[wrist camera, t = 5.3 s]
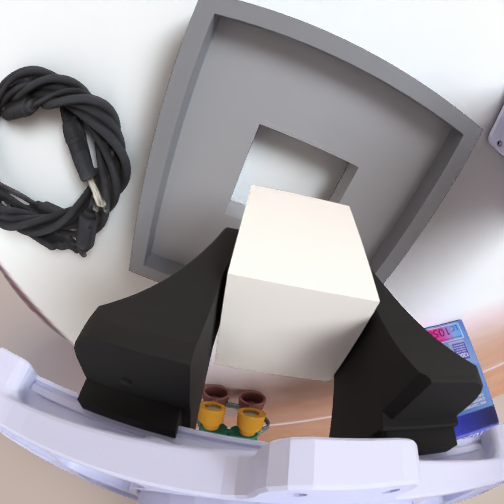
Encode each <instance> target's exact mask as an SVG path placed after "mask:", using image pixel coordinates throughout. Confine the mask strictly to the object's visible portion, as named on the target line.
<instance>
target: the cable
mask: <svg viewBox="0 0 504 504" xmlns="http://www.w3.org/2000/svg"><path fill="white" fill-rule="evenodd" d="M40 106H41V107H42V108H44V109H54V108H58V107H60V112H61V116H62V121H63V125H62V127H63V133H64V137H65V141H66V143H67V145H68V147H69V150H70V153H71V156H72V159H73V162H74V164H75V167H76V169H77V172H78V174H79V176H80V179H81V180H82V181H83V182H84V181H87V182H88V185H89V186H88V187H87V189H86V190H85V191H84V193H83V194H82V195H81V197H80V198H79V199H78V200H77V201H76V203H75V204H74V205H73V206H72V207H69V208H66V209H63V208H61V207H59V206H56V205H54V204H52V203H50V202H47V201H46V202H40V201H36V202H35V201H34V200H32V199H30V198H29V197H27V196H26V195H24V194H22V193H20V192H19V191H17V190H15V189H13V188H11V187H9V186H6V185H4V184H3V183H1V182H0V227H1V228H2V229H4V230H9V231H15V230H17V231H18V232H20V233H22V234H24V235H27V236H29V237H31V238H32V239H34V240H36V241H37V242H39V243H40V244H42V245H43V246H45V247H47V248H48V249H50V250H55V249H59V250H65V249H70V250H72V251H74V252H75V253H76V254H78V253H79V254H80V255H81V256H82V257H86V252H87V251H89V249H91V248H92V247H93V245H94V241H95V235H96V233H98V232H99V231H100V230H101V229H102V228H103V227H104V226H105V224H106V222H107V220H108V216H109V212H110V211H111V210H112V209H113V208H114V207H115V206H116V204H117V202H118V200H119V196H120V193H121V192H122V191H123V190H124V189H125V188H126V186H127V184H128V182H129V179H130V174H131V166H130V161H129V158H128V155H127V153H126V151H125V142H124V137H123V135H122V132H121V126H120V120H119V117H118V114H117V112H116V111H115V109H114V108H113V107H112V105H111V104H110V103H109V102H107V101H106V100H104V99H102V98H100V97H98V96H94V95H92V94H91V93H90V92H89V90H88V89H87V88H86V87H85V86H84V85H83V84H82V83H80V82H79V81H77V80H76V79H74V78H72V77H69V76H65V75H59V74H56V73H55V72H53V71H51V70H48V69H45V68H43V67H39V66H28V67H23V68H20V69H18V70H16V71H14V72H12V73H11V74H9V75H8V76H7V77H6V78H4V79H3V80H2V81H1V83H0V116H1V115H2V117H3V118H4V119H6V120H14V119H18V118H22V117H26V116H30V115H32V114H33V113H34V112H35V111H37V110H38V108H39V107H40ZM80 119H81V120H83V121H84V123H85V124H86V125H87V127H88V129H89V131H90V133H91V134H92V136H93V138H94V140H95V148H96V156H97V165H98V167H97V168H94V167H93V163H92V159H91V155H90V151H89V147H88V143H87V140H86V132H85V130H84V127H83V125H82V122H81V120H80ZM10 194H13V195H16V196H17V197H19V198H21V199H23V200H24V201H26V202H28V203H29V204H30V205H25V204H23V203H21V202H20V201H18V200H17V199H15V198H14V197H12V196H11V195H10ZM1 201H4V202H5V204H6V205H7V206H5V205H3V204H2V203H1ZM73 237H76V241H75V240H74V239H73Z"/></svg>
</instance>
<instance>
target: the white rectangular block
mask: <svg viewBox="0 0 504 504" xmlns="http://www.w3.org/2000/svg"><path fill="white" fill-rule="evenodd" d="M379 302H380V300H379V297H378V293H377V290H376V286H375V283H374V279H373V276H372V273H371V270H370V266H369V263H368V260H367V257H366V254H365V250H364V247H363V244H362V241H361V238H360V235H359V232H358V229H357V227H356V224H355V221H354V218H353V215H352V212H351V210H350V207H349V206H347V205H342V204H338V203H334V202H330V201H326V200H321V199H317V198H313V197H308V196H304V195H299V194H295V193H290V192H285V191H280V190H276V189H271V188H266V187H261V186H256V185H251V189H250V192H249V196H248V200H247V203H246V207H245V211H244V214H243V218H242V222H241V225H240V229H239V233H238V236H237V240H236V244H235V248H234V251H233V255H232V259H231V263H230V267H229V270H228V275H227V281H226V288H225V294H224V301H223V308H222V314H221V321H220V328H219V335H218V342H217V349H216V356H215V363H214V364H218V365H223V366H228V367H233V368H238V369H244V370H249V371H255V372H261V373H267V374H273V375H280V376H287V377H294V378H302V379H310V380H318V381H327V382H330V380H331V379H332V377H333V376H334V374H335V373H336V371H337V370H338V368H339V367H340V365H341V364H342V362H343V361H344V359H345V358H346V356H347V355H348V353H349V352H350V350H351V349H352V347H353V345H354V344H355V342H356V341H357V339H358V338H359V336H360V334H361V333H362V331H363V329H364V328H365V326H366V324H367V323H368V321H369V319H370V318H371V316H372V314H373V313H374V311H375V309H376V307H377V306H378V304H379Z"/></svg>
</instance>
